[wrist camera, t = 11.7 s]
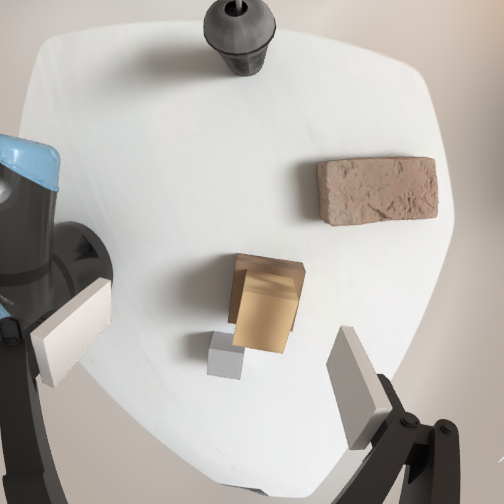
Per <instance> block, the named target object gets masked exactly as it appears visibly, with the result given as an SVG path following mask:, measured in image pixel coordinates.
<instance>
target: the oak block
mask: <svg viewBox="0 0 504 504" xmlns="http://www.w3.org/2000/svg"><path fill="white" fill-rule="evenodd" d="M297 305H298V297H297V293H296V289H295V284H294V280H293V278H289V277H284V276H279V275H274V274H269V273H264V272H259V271H254V270H249V269H247V272H246V277H245V282H244V287H243V292H242V297H241V301H240V306H239V311H238V316H237V322H236V327H235V333H234V338H233V344H232V345H236V346H241V347H247V348H252V349H258V350H263V351H269V352H275V353H282V354H283V352H284V349H285V346H286V342H287V339H288V336H289V332H290V329H291V326H292V322H293V319H294V315H295V312H296V309H297Z"/></svg>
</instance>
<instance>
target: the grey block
mask: <svg viewBox="0 0 504 504" xmlns="http://www.w3.org/2000/svg"><path fill="white" fill-rule="evenodd" d="M233 338H234V334H231V333H224V332H218V331H214V333H213V336H212V339H211V343H210V346H209V352H208V365H207V375H212V376H218V377H224V378H231V379H238V380H240V377H241V370H242V364H243V357H244V350H245V347H241V346H236V345H232V344H233Z"/></svg>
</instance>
